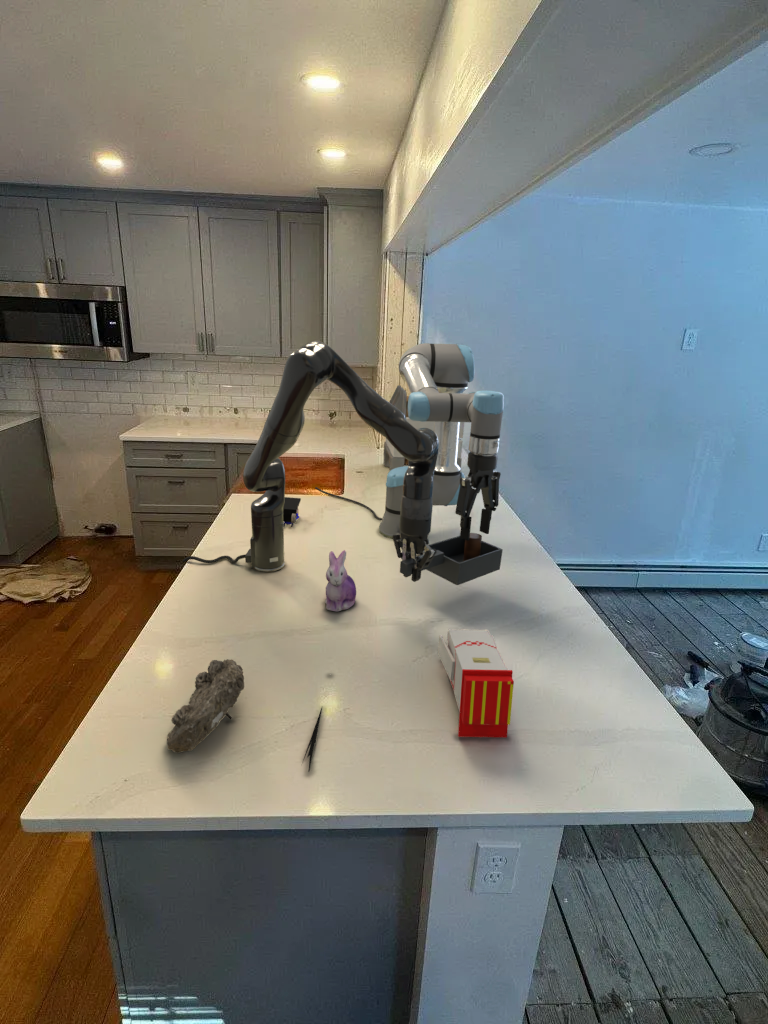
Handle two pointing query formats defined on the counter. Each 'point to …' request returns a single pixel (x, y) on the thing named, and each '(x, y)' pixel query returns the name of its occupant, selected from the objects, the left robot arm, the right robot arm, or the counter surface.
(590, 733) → the counter surface
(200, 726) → the fossil
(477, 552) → the walnut peg
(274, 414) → the left robot arm
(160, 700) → the counter surface
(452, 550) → the bin
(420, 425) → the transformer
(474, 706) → the toy
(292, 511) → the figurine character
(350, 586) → the figurine
